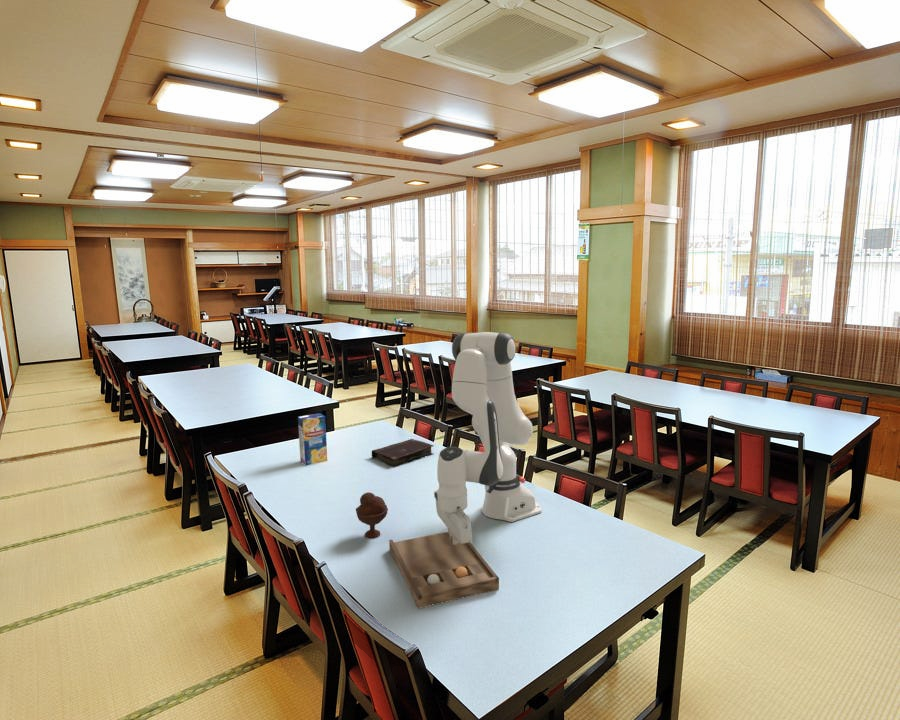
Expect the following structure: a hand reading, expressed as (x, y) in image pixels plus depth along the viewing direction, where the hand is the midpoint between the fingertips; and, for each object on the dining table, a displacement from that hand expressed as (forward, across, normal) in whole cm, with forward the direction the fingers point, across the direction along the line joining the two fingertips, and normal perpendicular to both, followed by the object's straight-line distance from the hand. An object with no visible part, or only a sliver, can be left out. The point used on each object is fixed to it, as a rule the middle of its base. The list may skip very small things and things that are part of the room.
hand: (454, 542), depth 163 cm
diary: (+9, +97, -12) cm, 98 cm away
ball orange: (+5, -9, +2) cm, 10 cm away
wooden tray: (+7, -2, +5) cm, 9 cm away
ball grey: (+5, -9, +10) cm, 15 cm away
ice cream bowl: (+7, +27, +20) cm, 34 cm away
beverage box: (+8, +107, +29) cm, 111 cm away
